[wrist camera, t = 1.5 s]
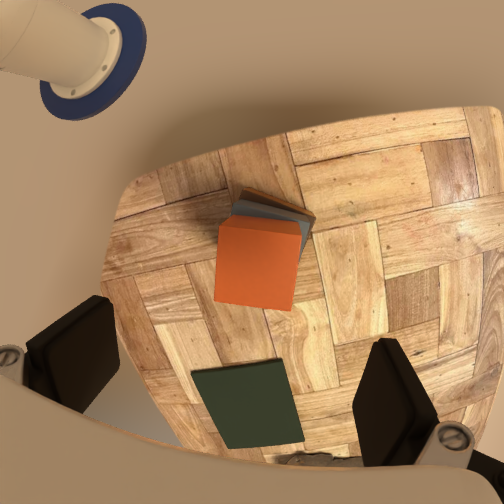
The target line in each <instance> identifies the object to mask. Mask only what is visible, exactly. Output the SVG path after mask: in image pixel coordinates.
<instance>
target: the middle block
mask: <svg viewBox="0 0 504 504" xmlns="http://www.w3.org/2000/svg"><path fill="white" fill-rule="evenodd" d="M232 215H242V216H251V217H259V218H268V219H276V220H285V221H293V222H298V223H299V226H300V230H301V234H302V241H301V248H300V255H299V261H300V257H301V254H302V251H303V247H304V244H305V240H306V237H307V233H308V230H309V226H310V222H309V220H308V218H307V216H305V215H302V214H298V213H294V212H291V211H287V210H283V209H279V208H276V207H272V206H268V205H264V204H260V203H256V202H252V201H248V200H244V199H240V200H238V201H236V202H235V203H233V206H232V211H231V215H230V217H231V216H232ZM298 264H299V262H298Z"/></svg>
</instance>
